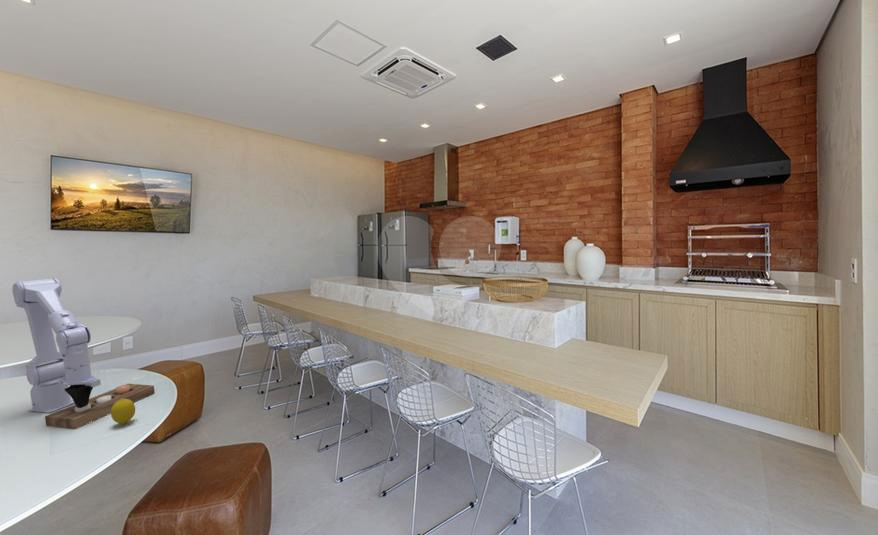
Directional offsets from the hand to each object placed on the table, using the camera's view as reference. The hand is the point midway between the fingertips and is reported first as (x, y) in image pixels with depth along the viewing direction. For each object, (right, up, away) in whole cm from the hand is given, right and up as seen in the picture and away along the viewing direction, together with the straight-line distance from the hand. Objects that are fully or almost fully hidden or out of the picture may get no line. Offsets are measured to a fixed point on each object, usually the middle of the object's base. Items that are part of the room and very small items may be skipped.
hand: (82, 406), depth 113 cm
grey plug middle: (+1, -2, +6) cm, 7 cm away
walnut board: (+1, -3, +6) cm, 7 cm away
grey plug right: (0, -3, 0) cm, 3 cm away
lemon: (+17, -4, -4) cm, 18 cm away
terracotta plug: (+3, -1, +12) cm, 12 cm away
